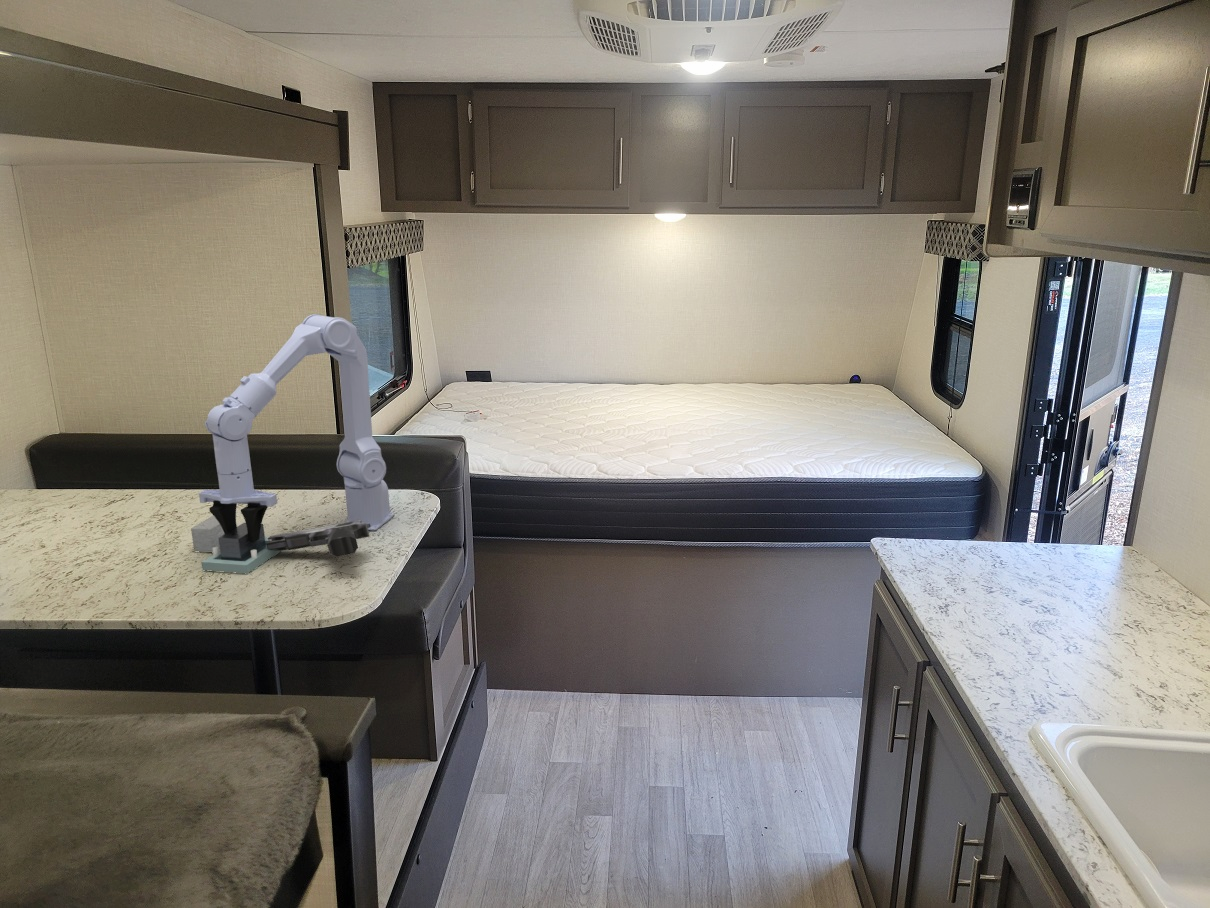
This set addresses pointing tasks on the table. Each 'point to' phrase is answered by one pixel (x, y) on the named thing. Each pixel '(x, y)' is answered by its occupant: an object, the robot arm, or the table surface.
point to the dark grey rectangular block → (240, 544)
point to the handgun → (323, 538)
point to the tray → (237, 566)
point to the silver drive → (207, 535)
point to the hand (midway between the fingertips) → (243, 539)
